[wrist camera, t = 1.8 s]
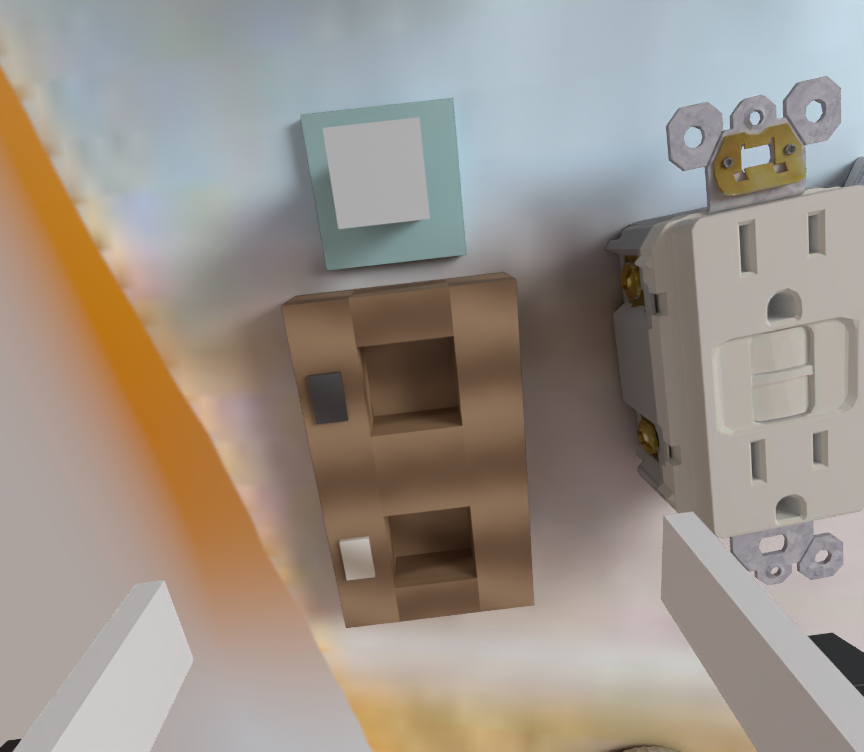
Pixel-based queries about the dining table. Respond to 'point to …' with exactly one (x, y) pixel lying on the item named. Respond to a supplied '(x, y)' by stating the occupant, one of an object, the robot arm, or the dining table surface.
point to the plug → (377, 172)
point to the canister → (650, 749)
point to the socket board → (417, 444)
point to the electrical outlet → (751, 337)
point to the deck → (399, 238)
